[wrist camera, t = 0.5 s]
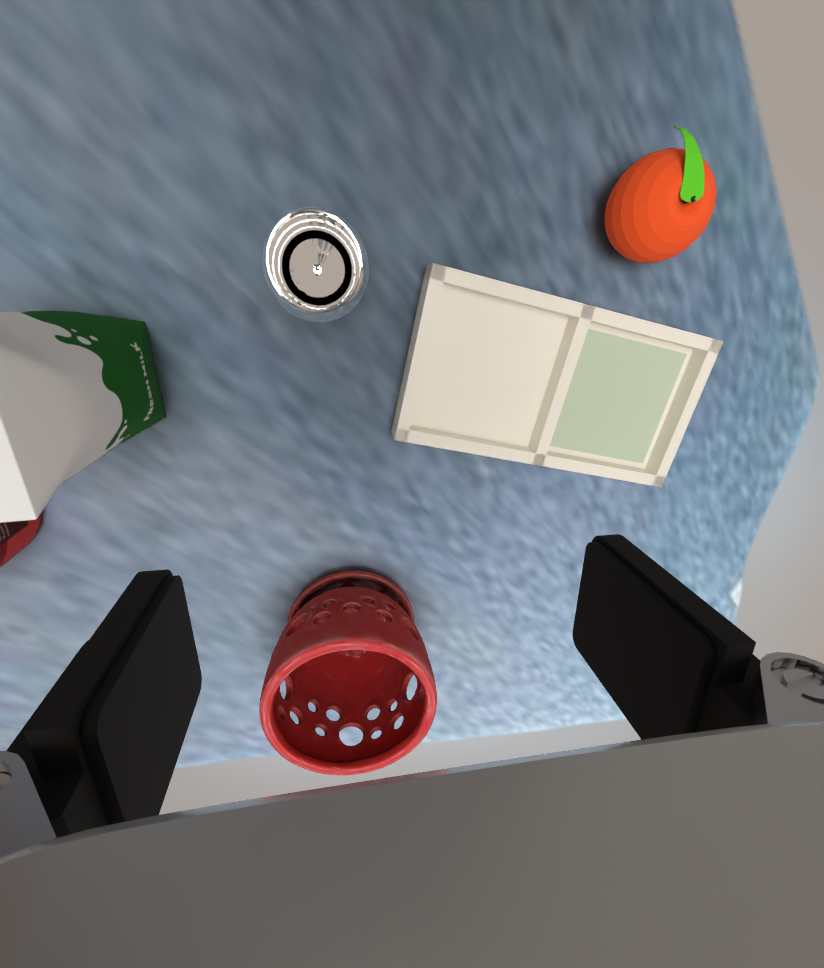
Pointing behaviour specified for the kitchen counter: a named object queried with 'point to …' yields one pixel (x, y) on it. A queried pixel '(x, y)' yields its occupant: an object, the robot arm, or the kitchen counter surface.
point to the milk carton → (67, 399)
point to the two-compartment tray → (547, 379)
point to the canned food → (16, 537)
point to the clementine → (661, 203)
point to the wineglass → (315, 264)
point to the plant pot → (348, 676)
